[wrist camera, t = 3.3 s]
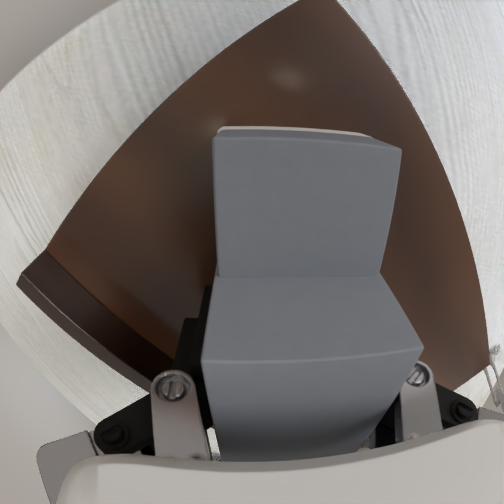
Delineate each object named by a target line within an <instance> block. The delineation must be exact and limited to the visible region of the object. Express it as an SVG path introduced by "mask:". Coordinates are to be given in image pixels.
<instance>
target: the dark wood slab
mask: <svg viewBox="0 0 504 504" xmlns="http://www.w3.org/2000/svg"><path fill="white" fill-rule="evenodd" d="M223 126H272V127H297V128H313V129H326V130H337V131H347V132H356V133H361V134H364V135H367V136H370V137H372V138H374V139H377V140H380V141H383V142H385V143H388V144H391V145H393V146H396V147H398V148H400V149H401V150H402V155H401V163H400V170H399V177H398V184H397V190H396V196H395V202H394V208H393V213H392V218H391V223H390V228H389V233H388V238H387V242H386V247H385V251H384V255H383V260H382V264H381V268H380V274H381V275H382V277H383V279H384V280H385V282H386V283H387V285H388V286H389V288H390V290H391V291H392V293H393V294H394V296H395V298H396V299H397V301H398V303H399V304H400V306H401V308H402V309H403V311H404V313H405V314H406V316H407V318H408V319H409V321H410V323H411V325H412V326H413V328H414V330H415V332H416V333H417V335H418V337H419V339H420V340H421V342H422V344H423V346H424V349H423V351H422V353H421V355H420V357H419V359H418V360H419V361H422V362H424V363H425V364H426V365H428V366H429V368H430V369H431V371H432V373H433V377H434V382H435V383H437V384H439V385H441V386H443V387H445V388H447V389H449V390H451V391H454V390H455V389H457V388H458V387H460V386H461V385H462V384H464V383H465V382H467V381H468V380H470V379H471V378H472V377H474V376H475V375H476V374H478V373H479V372H480V371H482V370H483V369H484V368H486V367H487V366H488V365H489V364H490V358H489V345H488V335H487V327H486V319H485V312H484V306H483V300H482V294H481V289H480V284H479V279H478V274H477V270H476V265H475V261H474V257H473V253H472V249H471V246H470V242H469V238H468V235H467V232H466V228H465V225H464V222H463V219H462V216H461V213H460V210H459V207H458V204H457V201H456V198H455V196H454V193H453V190H452V188H451V185H450V182H449V180H448V177H447V175H446V173H445V170H444V168H443V165H442V163H441V161H440V159H439V156H438V154H437V152H436V150H435V148H434V145H433V143H432V141H431V139H430V137H429V135H428V133H427V131H426V129H425V127H424V125H423V123H422V122H421V120H420V118H419V116H418V114H417V112H416V110H415V109H414V107H413V105H412V103H411V102H410V100H409V98H408V96H407V95H406V93H405V91H404V90H403V88H402V87H401V85H400V83H399V82H398V80H397V79H396V77H395V75H394V74H393V72H392V71H391V69H390V68H389V66H388V65H387V63H386V62H385V61H384V59H383V58H382V56H381V55H380V53H379V52H378V51H377V49H376V48H375V47H374V45H373V44H372V43H371V41H370V40H369V39H368V37H367V36H366V35H365V33H364V32H363V31H362V30H361V28H360V27H359V26H358V25H357V24H356V22H355V21H354V20H353V19H352V18H351V16H350V15H349V14H348V13H347V12H346V11H345V9H344V8H343V7H342V6H341V5H340V4H339V3H338V2H337V1H336V0H299V1H297V2H295V3H293V4H292V5H290V6H288V7H287V8H285V9H283V10H282V11H280V12H278V13H277V14H275V15H273V16H272V17H270V18H269V19H267V20H266V21H264V22H263V23H261V24H260V25H258V26H257V27H255V28H254V29H252V30H251V31H249V32H248V33H246V34H245V35H243V36H242V37H241V38H239V39H238V40H237V41H235V42H234V43H232V44H231V45H230V46H228V47H227V48H226V49H224V50H223V51H222V52H221V53H219V54H218V55H217V56H215V57H214V58H213V59H212V60H210V61H209V62H208V63H207V64H205V65H204V66H203V67H202V68H201V69H199V70H198V71H197V72H196V73H195V74H194V75H192V76H191V77H190V78H189V79H188V80H187V81H186V82H184V83H183V84H182V85H181V86H180V87H179V88H178V89H177V90H176V91H174V92H173V93H172V94H171V95H170V96H169V97H168V98H167V99H166V100H165V101H164V102H163V103H162V104H161V105H160V106H159V107H158V108H157V109H156V110H155V111H154V112H153V113H152V114H151V115H150V116H149V117H148V118H147V119H146V120H145V121H144V122H143V123H142V124H141V125H140V126H139V127H138V128H137V129H136V130H135V131H134V132H133V133H132V135H131V136H130V137H129V138H128V139H127V140H126V141H125V142H124V143H123V144H122V146H121V147H120V148H119V149H118V150H117V151H116V153H115V154H114V155H113V156H112V157H111V158H110V160H109V161H108V162H107V163H106V164H105V166H104V167H103V168H102V169H101V171H100V172H99V173H98V174H97V176H96V177H95V178H94V179H93V181H92V182H91V183H90V185H89V186H88V187H87V188H86V190H85V191H84V192H83V194H82V195H81V197H80V198H79V199H78V201H77V202H76V203H75V205H74V206H73V208H72V209H71V211H70V212H69V213H68V215H67V216H66V218H65V219H64V221H63V222H62V224H61V225H60V227H59V228H58V230H57V231H56V233H55V235H54V236H53V238H52V239H51V241H50V242H49V244H48V246H47V247H46V249H45V250H44V251H43V252H42V253H41V254H40V255H39V256H38V257H37V258H36V259H35V260H34V261H33V262H32V263H31V264H30V265H29V266H28V267H27V268H26V269H25V270H24V271H23V272H22V273H21V275H20V277H19V279H18V281H17V284H16V285H17V286H18V287H19V288H20V289H21V290H22V291H23V292H24V293H25V295H26V296H27V297H28V298H29V299H30V300H32V301H33V302H34V303H35V304H36V305H37V306H38V307H39V308H40V309H41V310H42V311H43V312H44V313H45V314H46V315H47V316H48V317H49V318H51V319H52V320H53V321H54V322H55V323H56V324H57V325H58V326H60V327H61V328H62V329H63V330H64V331H65V332H66V333H68V334H69V335H70V336H71V337H72V338H74V339H75V340H76V341H77V342H79V343H80V344H81V345H82V346H83V347H85V348H86V349H87V350H89V351H90V352H91V353H92V354H94V355H95V356H96V357H98V358H99V359H100V360H102V361H103V362H104V363H106V364H107V365H108V366H110V367H111V368H113V369H114V370H115V371H117V372H118V373H120V374H121V375H123V376H124V377H126V378H127V379H129V380H130V381H132V382H133V383H135V384H136V385H138V386H139V387H141V388H142V389H144V390H145V391H147V392H149V393H151V392H150V388H151V383H152V381H153V380H154V378H155V377H156V376H157V375H158V374H160V373H162V372H164V371H168V370H172V367H173V363H174V358H175V354H176V350H177V346H178V342H179V338H180V334H181V330H182V326H183V322H184V319H185V318H198V316H199V311H200V306H201V301H202V297H203V292H204V287H205V285H213V282H214V276H215V271H216V265H217V252H216V234H215V214H214V190H213V161H212V139H213V137H215V136H216V135H217V131H218V130H219V129H220V128H221V127H223ZM211 428H213V429H214V425H213V426H212V427H211ZM369 437H370V435H369Z"/></svg>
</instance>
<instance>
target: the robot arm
mask: <svg viewBox="0 0 504 504" xmlns="http://www.w3.org/2000/svg"><path fill="white" fill-rule="evenodd" d="M212 288H213V285H205V287H204V292H203V297H202V301H201V306H200V311H199V316H198V318H185V319H184V322H183V326H182V330H181V334H180V338H179V342H178V346H177V350H176V354H175V358H174V363H173V367H172V370H168V371H164V372H162V373H160V374H158V375H157V376H156V377H155V378H154V380H153V381H152V383H151V388H150V392H151V393H150V394H148V395H146V396H144V397H143V398H141V399H139V400H138V401H136V402H134V403H132V404H131V405H129V406H127V407H125V408H123V409H122V410H120V411H118V412H116V413H114V414H113V415H111V416H109V417H107V418H105V419H103V420H102V421H101V422H99V423H98V425H97V426H96V428H95V430H94V431H91V432H88V431H83V432H80V433H78V434H74V435H72V436H69V437H66V438H63V439H59V440H56V441H53V442H50V443H47V444H45V445H43V446H41V447H40V449H39V450H38V452H37V463H38V467H39V471H40V474H41V477H42V480H43V483H44V487H45V489H46V493H47V495H48V498H49V501H50V504H504V414H501V413H498V412H495V411H491V410H488V409H485V408H482V407H479V408H478V409H477V408H476V406H475V404H474V403H473V402H472V401H471V400H469V399H468V398H466V397H464V396H462V395H460V394H458V393H455V392H453V391H451V390H449V389H447V388H445V387H443V386H441V385H439V384H437V383H435V382H434V377H433V373H432V371H431V369H430V368H429V366H428V365H426V364H425V363H424V362H422V361H419V360H418V361H417V362H416V364H415V366H414V368H413V370H412V371H411V373H410V375H409V376H408V378H407V380H406V382H405V383H404V385H403V387H402V388H401V390H400V391H399V393H398V395H397V396H396V398H395V399H394V401H393V402H392V404H391V405H390V407H389V408H388V410H387V411H386V413H385V414H384V416H383V417H382V419H381V420H380V422H379V423H378V424H377V426H376V427H375V429H374V430H373V431H372V433H371V434H370V450H365V451H360V452H355V453H349V454H343V455H336V456H329V457H321V458H312V459H301V460H288V461H269V462H225V461H214V460H213V456H212V451H211V447H210V443H209V438H208V434H207V429H209V428H210V427H212V426H213V421H212V416H211V411H210V407H209V402H208V397H207V392H206V387H205V382H204V377H203V372H202V366H201V354H202V348H203V342H204V335H205V329H206V323H207V317H208V311H209V305H210V299H211V293H212Z"/></svg>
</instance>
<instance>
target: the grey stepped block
mask: <svg viewBox="0 0 504 504" xmlns="http://www.w3.org/2000/svg"><path fill="white" fill-rule="evenodd" d="M401 155H402V150H401V149H400V148H398V147H396V146H393V145H391V144H388V143H385V142H383V141H380V140H377V139H374V138H372V137H370V136H367V135H364V134H361V133H356V132H347V131H337V130H326V129H313V128H297V127H272V126H223V127H221V128H220V129H219V130H218V131H217V135H216V136H215V137H213V139H212V161H213V190H214V214H215V234H216V252H217V265H216V271H215V276H214V282H213V288H212V293H211V299H210V305H209V311H208V317H207V323H206V329H205V335H204V342H203V348H202V354H201V366H202V372H203V377H204V382H205V387H206V392H207V397H208V402H209V407H210V411H211V416H212V421H213V425H214V429H215V434H216V438H217V442H218V447H219V451H220V455H221V459H222V461H225V462H269V461H288V460H301V459H312V458H321V457H329V456H336V455H343V454H349V453H355V452H357V451H358V450H359V448H360V447H361V446H362V445H363V443H364V442H365V441H366V439H367V438H368V437H369V435H370V434H371V433H372V431H373V430H374V429H375V427H376V426H377V424H378V423H379V422H380V420H381V419H382V417H383V416H384V414H385V413H386V411H387V410H388V408H389V407H390V405H391V404H392V402H393V401H394V399H395V398H396V396H397V395H398V393H399V391H400V390H401V388H402V387H403V385H404V383H405V382H406V380H407V378H408V376H409V375H410V373H411V371H412V370H413V368H414V366H415V364H416V362H417V361H418V359H419V357H420V355H421V353H422V351H423V349H424V346H423V344H422V342H421V340H420V339H419V337H418V335H417V333H416V332H415V330H414V328H413V326H412V325H411V323H410V321H409V319H408V318H407V316H406V314H405V313H404V311H403V309H402V308H401V306H400V304H399V303H398V301H397V299H396V298H395V296H394V294H393V293H392V291H391V290H390V288H389V286H388V285H387V283H386V282H385V280H384V279H383V277H382V275H381V274H380V268H381V264H382V260H383V255H384V251H385V247H386V242H387V238H388V233H389V228H390V223H391V218H392V213H393V208H394V202H395V196H396V190H397V184H398V177H399V170H400V163H401Z"/></svg>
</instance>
